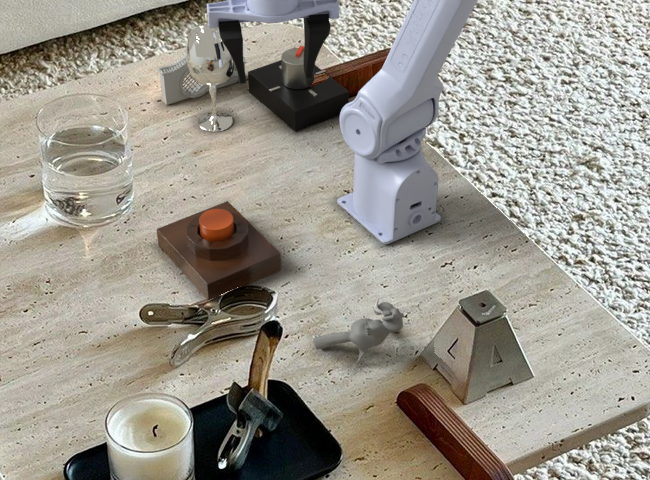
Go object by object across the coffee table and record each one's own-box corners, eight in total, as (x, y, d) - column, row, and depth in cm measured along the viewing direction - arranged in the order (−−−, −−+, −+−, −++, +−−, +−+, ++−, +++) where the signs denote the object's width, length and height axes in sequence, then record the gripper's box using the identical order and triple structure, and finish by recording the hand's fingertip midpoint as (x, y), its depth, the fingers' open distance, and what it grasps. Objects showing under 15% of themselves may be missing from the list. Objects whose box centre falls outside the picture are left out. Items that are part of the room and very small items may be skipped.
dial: (308, 91, 147) (308, 64, 144) (277, 86, 147) (277, 59, 145) (317, 75, 149) (317, 48, 147) (287, 70, 150) (286, 43, 147)
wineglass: (244, 129, 146) (240, 41, 138) (200, 138, 145) (193, 50, 136) (229, 105, 150) (224, 18, 142) (186, 114, 149) (178, 27, 140)
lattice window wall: (241, 74, 155) (239, 33, 151) (248, 81, 154) (246, 40, 150) (159, 101, 151) (155, 60, 147) (165, 108, 150) (161, 66, 145)
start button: (240, 234, 126) (239, 221, 125) (211, 247, 124) (210, 233, 123) (223, 217, 128) (222, 204, 127) (194, 229, 126) (192, 216, 125)
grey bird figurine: (324, 313, 123) (408, 294, 120) (336, 369, 123) (420, 352, 120) (294, 315, 113) (384, 295, 110) (307, 377, 113) (398, 358, 110)
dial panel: (349, 112, 149) (350, 90, 147) (294, 132, 146) (294, 110, 143) (301, 73, 155) (301, 51, 153) (247, 92, 152) (246, 70, 150)
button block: (281, 270, 127) (280, 241, 124) (208, 301, 124) (206, 272, 121) (228, 217, 134) (226, 188, 131) (158, 246, 130) (154, 217, 127)
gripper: (332, -56, 131) (331, 53, 141) (201, -47, 130) (209, 63, 139) (342, -26, 126) (341, 85, 136) (206, -17, 125) (214, 95, 134)
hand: (275, 76), depth 137 cm, fingers open, 7 cm apart
